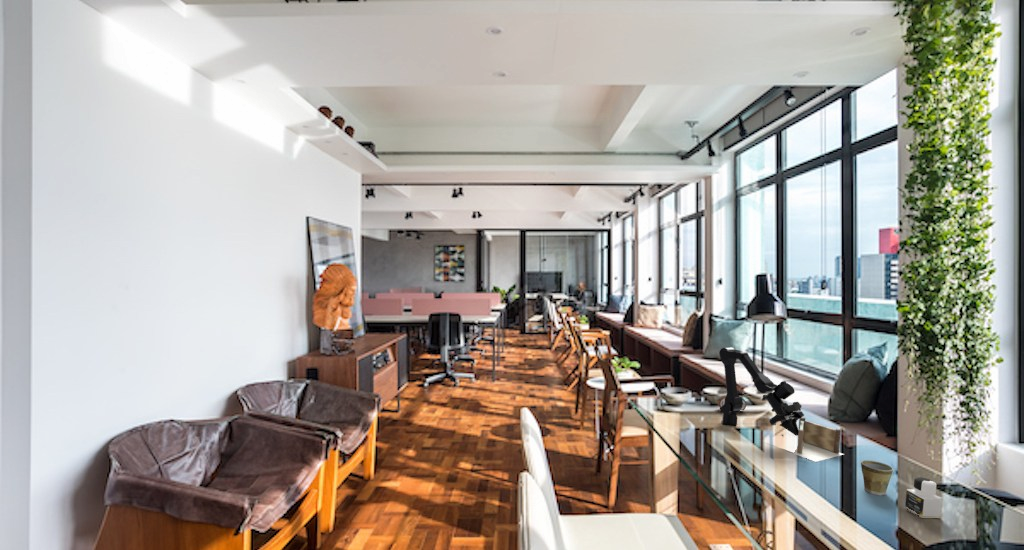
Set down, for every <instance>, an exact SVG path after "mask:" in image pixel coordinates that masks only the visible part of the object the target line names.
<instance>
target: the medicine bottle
mask: <svg viewBox="0 0 1024 550" xmlns="http://www.w3.org/2000/svg"><path fill="white" fill-rule="evenodd" d="M913 479H914V480H913V488H907V489H906V493H905V494H906V495H905V506H904V508H905V507H908V508H909V509H911V510H913V511H915V512H916V513H917V514H919V515H922V516H941V517H942V510H943V509H942V508H943V497H940V496H939V495H937V483H936V481H934V480H932V479H930V478H926V477H922V476H921V477H920V476H919V477H915V478H913Z"/></svg>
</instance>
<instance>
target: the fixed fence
mask: <svg viewBox="0 0 1024 550" xmlns="http://www.w3.org/2000/svg"><path fill="white" fill-rule="evenodd" d="M798 420H799V422H798V423H799V424H798V430H800V423H801V421H804V424H803V430H804V435H803V441H804V442H807V443H810V444H813V445H816V446H819V447H822V448H825V449H828V450H831V451H833V452H834V453H836V454H839V453H840V445H841V433H842V432H841V429H839V428H835V429H834V428H831V427H827V426H825V425H821V424H818V423H815V422H812V421H808V420H806V418H805V417H804V416H803V417H801V418H800V419H798Z"/></svg>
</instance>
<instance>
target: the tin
mask: <svg viewBox="0 0 1024 550" xmlns="http://www.w3.org/2000/svg"><path fill="white" fill-rule="evenodd" d="M726 395H727V394H725V395H721V396H720V397H718V400H717V406H718V407H719V408H720V407H722V406H723V405H724V404H725V397H726ZM742 402H743V405H742V408H741V410H743V411H744V410H745V409H746V407H747V401H746V399H745V398H743V397H742Z"/></svg>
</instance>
